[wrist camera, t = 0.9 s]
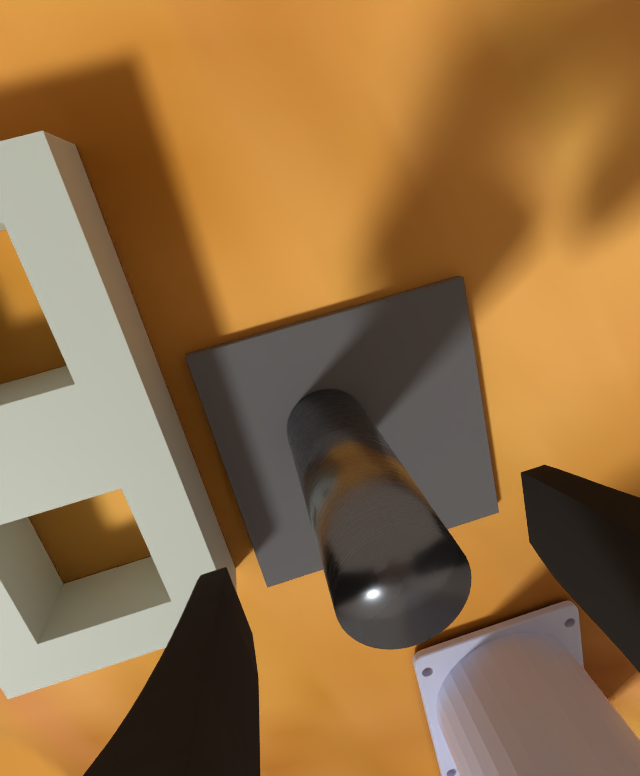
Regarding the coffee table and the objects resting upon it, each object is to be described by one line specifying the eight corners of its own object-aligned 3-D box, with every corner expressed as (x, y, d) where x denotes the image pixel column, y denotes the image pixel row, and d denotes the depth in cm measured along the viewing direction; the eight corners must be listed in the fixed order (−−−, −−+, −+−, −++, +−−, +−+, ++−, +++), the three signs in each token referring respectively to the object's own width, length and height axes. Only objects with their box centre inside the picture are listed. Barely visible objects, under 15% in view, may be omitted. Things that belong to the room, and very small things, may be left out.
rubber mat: (494, 507, 22) (498, 512, 22) (266, 580, 22) (267, 587, 21) (458, 276, 19) (463, 277, 19) (186, 354, 18) (185, 357, 18)
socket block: (235, 569, 21) (237, 623, 19) (37, 632, 21) (8, 698, 18) (75, 144, 16) (43, 130, 13) (-204, 214, 15) (-301, 215, 12)
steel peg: (374, 450, 20) (480, 623, 12) (298, 474, 20) (351, 666, 12) (356, 378, 19) (460, 511, 11) (276, 402, 19) (317, 557, 11)
